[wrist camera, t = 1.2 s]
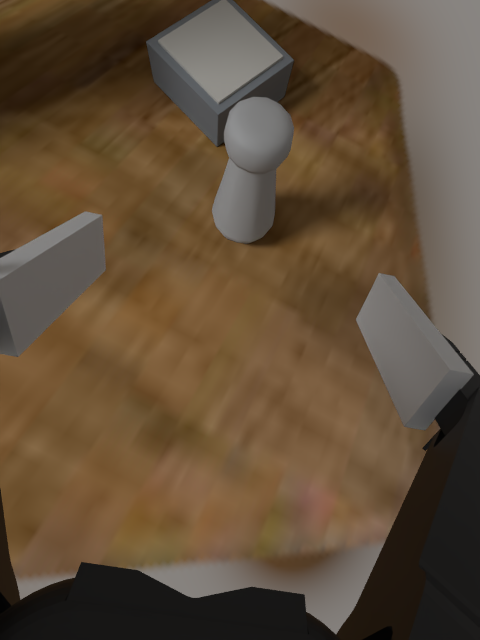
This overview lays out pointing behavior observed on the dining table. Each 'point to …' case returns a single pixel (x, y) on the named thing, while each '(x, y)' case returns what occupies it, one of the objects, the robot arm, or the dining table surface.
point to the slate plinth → (217, 64)
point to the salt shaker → (252, 168)
